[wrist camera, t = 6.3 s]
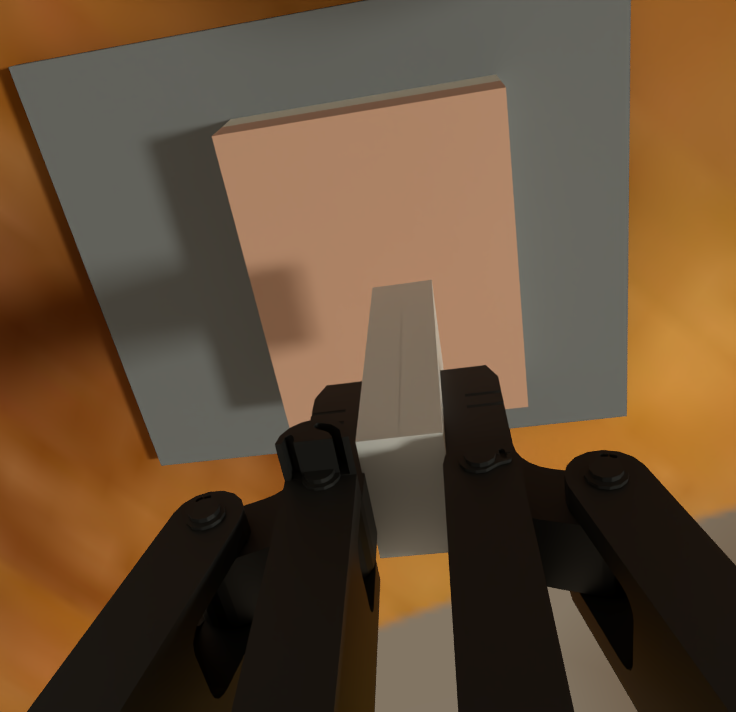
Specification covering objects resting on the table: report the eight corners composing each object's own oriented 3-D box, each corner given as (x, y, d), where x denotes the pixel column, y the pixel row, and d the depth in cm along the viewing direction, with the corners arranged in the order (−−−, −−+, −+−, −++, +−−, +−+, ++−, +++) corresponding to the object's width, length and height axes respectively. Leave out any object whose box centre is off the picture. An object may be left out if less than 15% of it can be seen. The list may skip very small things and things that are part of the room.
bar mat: (18, 64, 22) (8, 67, 21) (625, -49, 19) (631, -49, 19) (165, 456, 29) (161, 465, 28) (622, 406, 26) (626, 415, 26)
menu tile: (496, 74, 20) (230, 119, 21) (505, 87, 18) (211, 136, 19) (518, 370, 25) (300, 395, 26) (528, 406, 23) (290, 432, 24)
